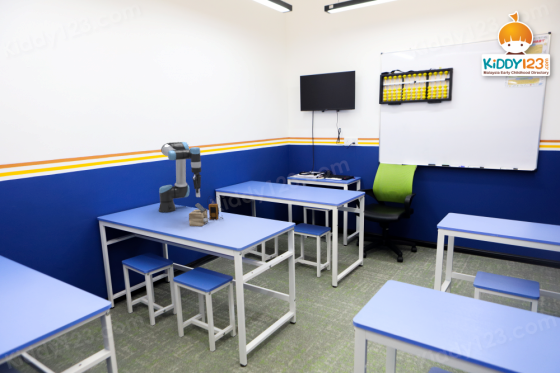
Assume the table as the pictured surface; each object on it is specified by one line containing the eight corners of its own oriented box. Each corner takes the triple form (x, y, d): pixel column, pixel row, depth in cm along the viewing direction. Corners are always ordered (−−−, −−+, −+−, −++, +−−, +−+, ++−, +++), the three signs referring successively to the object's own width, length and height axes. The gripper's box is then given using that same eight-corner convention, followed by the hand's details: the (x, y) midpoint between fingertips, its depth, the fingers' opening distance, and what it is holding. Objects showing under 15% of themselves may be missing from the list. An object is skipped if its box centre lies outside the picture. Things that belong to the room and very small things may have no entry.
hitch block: (196, 221, 291) (195, 207, 289) (208, 221, 289) (207, 207, 287) (189, 226, 277) (188, 211, 275) (202, 226, 276) (201, 212, 273)
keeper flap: (197, 203, 283) (198, 202, 283) (204, 210, 284) (205, 209, 283) (194, 205, 278) (195, 204, 277) (202, 212, 278) (202, 211, 278)
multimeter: (225, 216, 303) (224, 193, 299) (222, 219, 293) (220, 196, 289) (208, 216, 304) (207, 193, 301) (205, 219, 294) (203, 196, 291)
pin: (189, 224, 281) (188, 217, 280) (192, 222, 287) (191, 215, 286) (206, 224, 279) (206, 217, 278) (209, 222, 285) (208, 215, 284)
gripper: (194, 166, 282) (196, 195, 286) (188, 168, 269) (190, 198, 273) (203, 166, 281) (205, 195, 285) (197, 168, 268) (199, 198, 272)
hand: (198, 196), depth 279 cm, fingers closed
